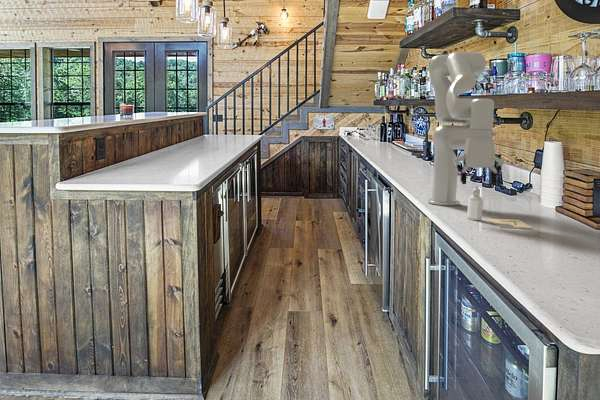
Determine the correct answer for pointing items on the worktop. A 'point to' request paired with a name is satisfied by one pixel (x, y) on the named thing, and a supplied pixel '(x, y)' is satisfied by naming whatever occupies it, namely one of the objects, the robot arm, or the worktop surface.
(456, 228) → the worktop surface
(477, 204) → the eye dropper bottle
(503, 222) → the card
